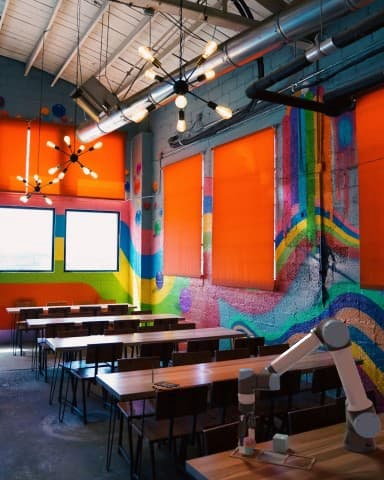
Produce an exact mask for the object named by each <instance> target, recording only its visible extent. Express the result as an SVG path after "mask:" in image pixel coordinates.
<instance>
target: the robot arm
mask: <svg viewBox="0 0 384 480" xmlns="http://www.w3.org/2000/svg"><path fill="white" fill-rule="evenodd" d="M350 335H351V334H350V329H349V327H348V326H347V324H345V322H343V321H342V320H340V319H338V318H336V317H331V316H329V317H326V318H324V319H322V320H321V321H320V322H319V323H317V324H316V325H315V326H314V327H313V328H311V329H310V332H309V333H308V334H307V335H306V336H304V337H303V338H301V339H300V340H299V341H297V342H296V343H295V344H294V345H292V346H291V347H290V348H289V349H287V350H286V351H285V352H283V353H281V354H280V355H279V356H278V357H276V358H275V359H274V360H272V361H271V362H270V363H269V364H267V365H265V366H262V367H261V368H260V369H259V372H255V370H254V368H250V367H242V368H240V369H238V372H237V373H238V374H237V375H238V377H237V378H238V379H237V383H238V384H237V386H238V387H237V388H238V394H237V396H238V401H239V402H238V410H239V412H241V415H239V417H238V418H239V420H238V429H237V435H236V438H237V439H238V441H239V445H238V446H239V449H238V452H239V453H240V454H243V453H244V454H245V435H246V431H247V426H248V434H249V433H250V429H251V436H250V438H252V439H254V440H255V438H256V437H255V436H256V435H255V430H257V426H256V425H257V423H256V418H255V413H254V412H255V409H256V408H255V407H256V406H255V401H256V400H255V390H257V391H259V390H260V391H279V390H280V389H281V386H280V385H281V384H280V383H281V379H280V377H281V376H282V375H283V374H284V373H285V372H287V371H288V370H289V369H291V368H292V367H294V365H296V364H297V363H299V362H300V361H301V360H303V359H305V358H306V357H307V356H309V355H310V354H311V353H312V352H314V351H315V350H316V349H317V348H319V347H324V346H325V348H326V351H327V352H328V353H329V354H331V355H332V359H333V362H334V364H335V367H336V370H337V372H338V373H337V374H338V376H339V378H340V381H341V384H342V388H343V390H344V393H345V397H346V399H345V426H346V430H345V433H344V436H343V440H342V446H343V447H344V448H345V449H347V450H348V451H351V452H354V453H363V454H366V453H367V454H368V453H373V452H376V450H377V443H376V440H375V437H376V436H377V435H378V434H379V433H380V432H381V429H382V423H381V419H380V417H379V416H378V415H377V413H376V409H375V406H374V403H373V401H372V400H370V399H369V398H368V397H367V394H366V391H365V388H364V385H363V382H362V379H361V376H360V374H359V371H358V368H357V365H356V362H355V359H354V356H353V353H352V346H353V343H352V341H351V338H350ZM255 441H256V440H255ZM244 454H243V455H244Z"/></svg>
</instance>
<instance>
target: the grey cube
mask: <svg viewBox="0 0 384 480" xmlns="http://www.w3.org/2000/svg"><path fill="white" fill-rule="evenodd" d="M288 449H289V435H288V434H281V433H275V434H274V436H273V437H272V451H278V452H284V453H287V451H288Z"/></svg>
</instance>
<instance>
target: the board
mask: <svg viewBox="0 0 384 480" xmlns="http://www.w3.org/2000/svg"><path fill="white" fill-rule="evenodd" d="M254 450H257V451H260V452H259V453H258V454H257V456H255V458H251V457H245V456H238V455H235V453H237V451H239V445H238V446H237V447H236V448H235V449H234V450H233V451H232V452H231V453H230V454H229V456H228V457H231V458H236V459H242V460H248V461H254V462H260V463H265V464H269V465H275V466H282V467H285V468H286V467H287V468H293V469H299V470H305V471H311V469H312V467H313V465H314V464H315V461H316V460H317V457H314V456H308V455H301V454H295V453H289V452H280V451H274V450H273V449H272V450H271V449H266V448H265V449H264V448H259V447H254ZM289 456H293V457H300V458H305V459H311V462H309V465H308V467H303V466H297V465H291V464H286V461H287V459H288V458H289Z"/></svg>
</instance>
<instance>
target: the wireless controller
mask: <svg viewBox="0 0 384 480" xmlns="http://www.w3.org/2000/svg"><path fill="white" fill-rule="evenodd" d="M151 370H152V372H151V384H152V383H154V377H155V375H154V364H152V368H151ZM154 385H157V386H161V387H166V388H172V387H177V386H179V387H180V384H179V383H173V382H169V381H164V380H161V381H158V382H155V383H154Z"/></svg>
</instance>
